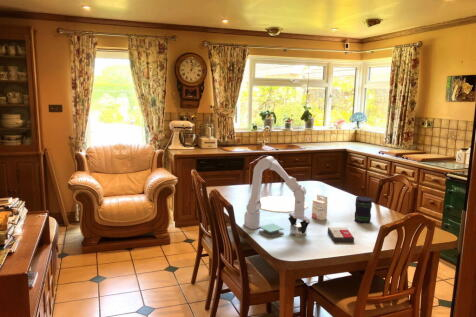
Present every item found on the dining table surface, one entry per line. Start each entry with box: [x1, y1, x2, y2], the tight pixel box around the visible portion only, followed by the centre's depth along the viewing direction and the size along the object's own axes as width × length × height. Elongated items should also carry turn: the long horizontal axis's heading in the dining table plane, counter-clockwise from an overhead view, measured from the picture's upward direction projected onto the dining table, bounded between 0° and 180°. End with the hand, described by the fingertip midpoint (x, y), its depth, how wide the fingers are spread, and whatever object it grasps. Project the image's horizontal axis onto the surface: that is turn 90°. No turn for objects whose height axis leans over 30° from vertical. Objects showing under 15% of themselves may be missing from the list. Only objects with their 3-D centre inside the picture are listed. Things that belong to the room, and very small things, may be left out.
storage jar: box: [353, 196, 373, 225], centre depth 244 cm, size 10×10×15 cm
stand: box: [258, 223, 285, 238], centre depth 221 cm, size 10×10×4 cm
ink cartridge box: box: [311, 194, 328, 221], centre depth 249 cm, size 9×5×15 cm, turn 44°
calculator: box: [327, 226, 355, 244], centre depth 216 cm, size 11×4×15 cm
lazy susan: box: [259, 195, 309, 213], centre depth 280 cm, size 40×39×3 cm
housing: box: [289, 222, 308, 237], centre depth 221 cm, size 5×10×5 cm, turn 124°
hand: (298, 231), depth 221 cm, fingers open, 7 cm apart
